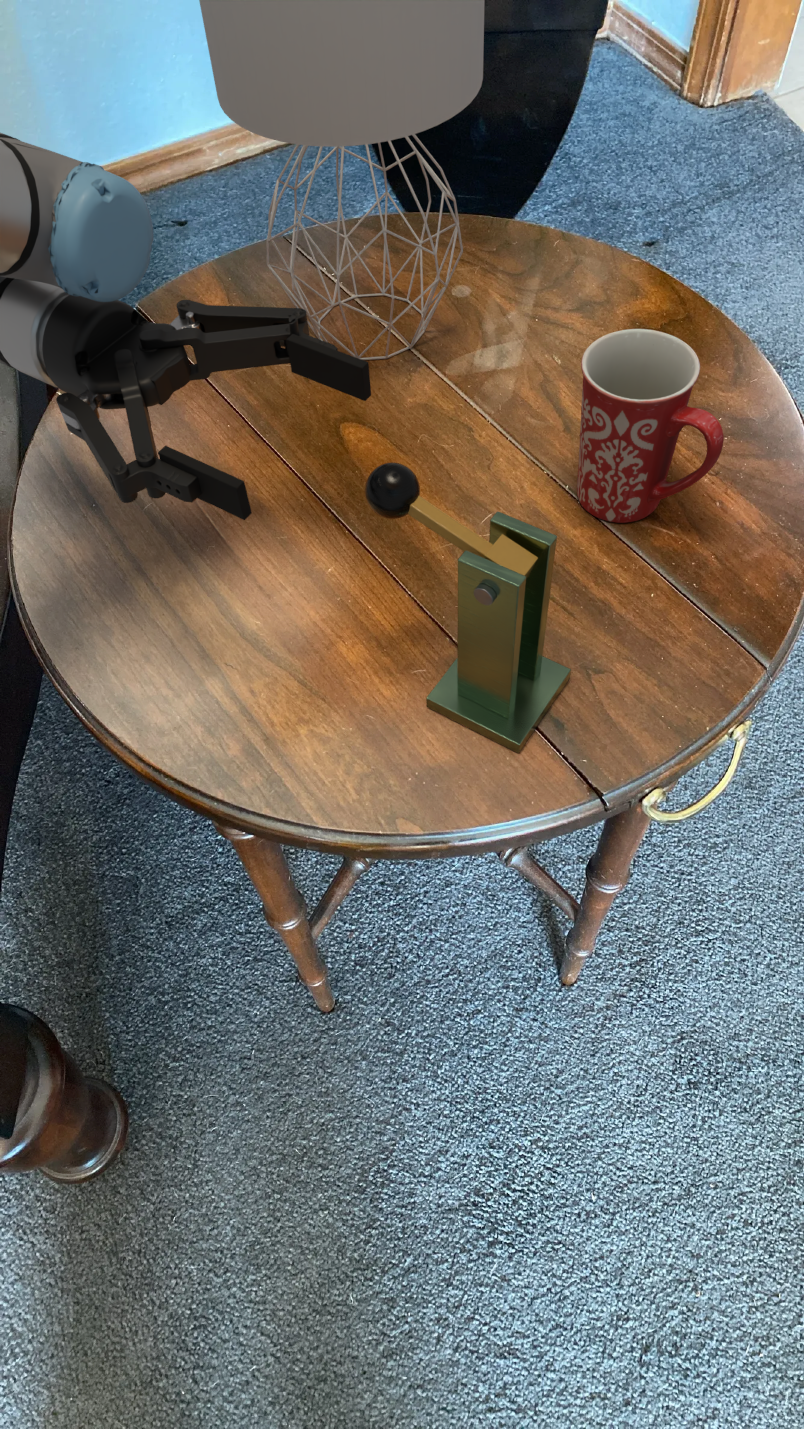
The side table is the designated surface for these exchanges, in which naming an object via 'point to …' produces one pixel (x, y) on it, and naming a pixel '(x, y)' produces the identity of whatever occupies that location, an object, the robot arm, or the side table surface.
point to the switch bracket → (502, 642)
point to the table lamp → (348, 102)
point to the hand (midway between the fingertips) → (309, 438)
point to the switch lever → (437, 517)
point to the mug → (637, 422)
